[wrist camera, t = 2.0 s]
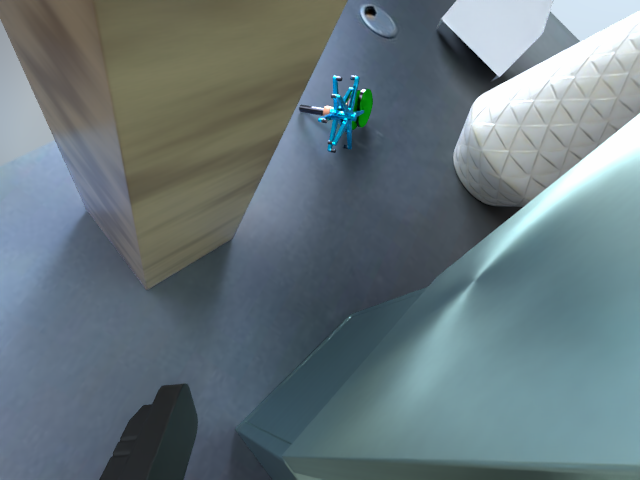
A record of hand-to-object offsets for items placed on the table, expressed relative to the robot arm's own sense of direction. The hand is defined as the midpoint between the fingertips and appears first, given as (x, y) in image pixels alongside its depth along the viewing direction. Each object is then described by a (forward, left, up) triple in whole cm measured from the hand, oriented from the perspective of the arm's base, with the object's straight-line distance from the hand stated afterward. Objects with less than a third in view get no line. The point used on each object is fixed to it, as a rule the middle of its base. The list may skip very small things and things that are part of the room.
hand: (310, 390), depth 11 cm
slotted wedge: (-18, +69, -17) cm, 74 cm away
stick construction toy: (-16, +26, -17) cm, 35 cm away
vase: (+1, +44, -17) cm, 47 cm away
